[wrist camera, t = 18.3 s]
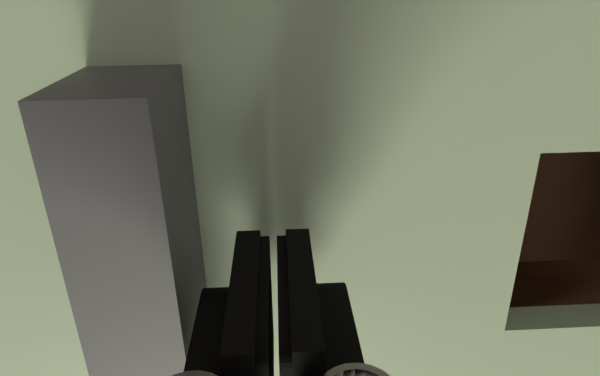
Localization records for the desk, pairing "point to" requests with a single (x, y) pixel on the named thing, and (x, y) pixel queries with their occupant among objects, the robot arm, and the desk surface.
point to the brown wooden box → (561, 234)
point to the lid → (286, 172)
